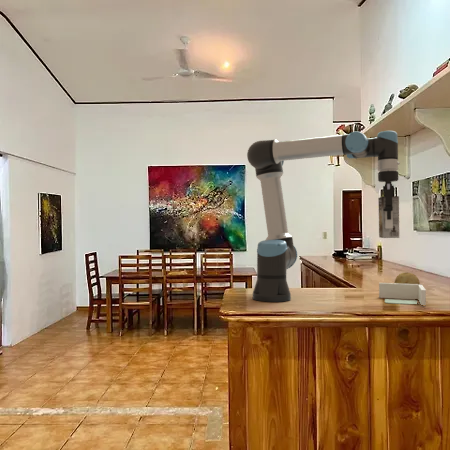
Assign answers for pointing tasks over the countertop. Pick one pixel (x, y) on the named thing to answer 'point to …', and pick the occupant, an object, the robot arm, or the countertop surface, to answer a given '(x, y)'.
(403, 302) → the pad
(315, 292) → the countertop surface
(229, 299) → the countertop surface
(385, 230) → the coffee box
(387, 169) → the robot arm
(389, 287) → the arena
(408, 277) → the potato
